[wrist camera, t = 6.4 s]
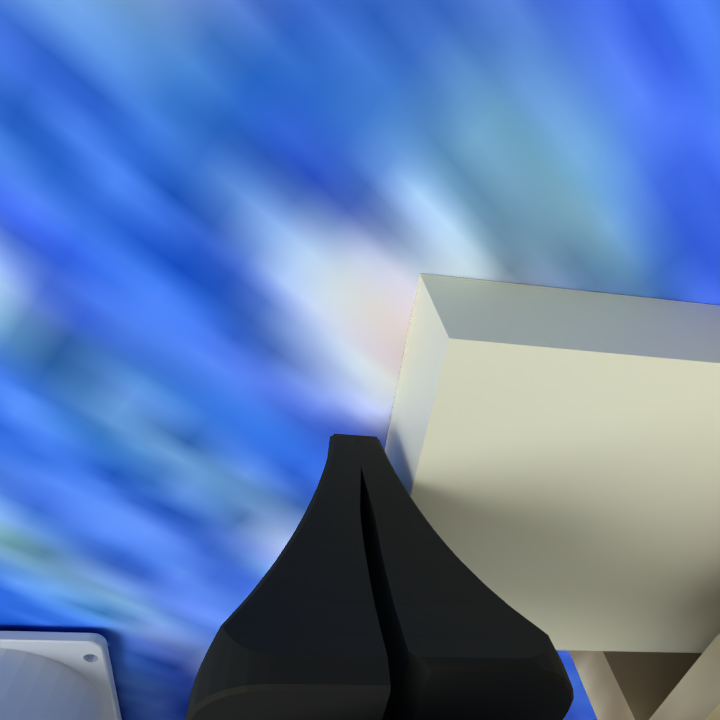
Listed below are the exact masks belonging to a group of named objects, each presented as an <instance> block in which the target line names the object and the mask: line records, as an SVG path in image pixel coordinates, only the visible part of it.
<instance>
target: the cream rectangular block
mask: <svg viewBox="0 0 720 720" xmlns="http://www.w3.org/2000/svg"><path fill="white" fill-rule="evenodd" d="M384 451H385V453H386V455H387V457H388V459H389V461H390V463H391V465H392V466H393V468H394V470H395V472H396V474H397V475H398V477H399V479H400V481H401V482H402V484H403V485H404V487H405V489H406V490H407V492H408V493H409V495H410V497H411V498H412V500H413V501H414V503H415V504H416V506H417V507H418V508H419V510H420V511H421V513H422V514H423V515H424V517H425V518H426V520H427V521H428V522H429V524H430V525H431V526H432V528H433V529H434V530H435V531H436V533H437V534H438V535H439V536H440V537H441V539H442V540H443V541H444V542H445V543H446V545H447V546H448V547H449V548H450V549H451V550H452V551H453V553H454V554H455V555H456V556H457V557H458V558H459V559H460V560H461V561H462V562H463V563H464V564H465V565H466V566H467V567H468V568H469V569H470V570H471V571H472V572H473V573H474V574H475V575H476V576H477V577H478V578H479V579H480V580H481V581H482V582H483V583H484V584H485V585H486V586H487V587H488V588H490V589H491V590H492V591H493V592H494V593H495V594H497V595H498V596H499V597H500V598H501V599H502V600H503V601H505V602H506V603H507V604H508V605H509V606H511V607H512V608H513V609H514V610H516V611H517V612H518V613H520V614H521V615H522V616H524V617H525V618H526V619H528V620H529V621H530V622H532V623H533V624H534V625H536V626H537V627H538V628H540V629H541V630H542V631H544V632H545V633H546V634H548V635H549V637H550V640H551V642H552V643H553V645H554V647H555V649H556V650H574V651H626V652H677V653H703V652H704V651H705V650H706V648H707V647H708V646H709V645H710V643H711V642H712V641H713V640H714V638H715V637H716V636H717V635H718V634H719V632H720V305H712V304H703V303H693V302H684V301H674V300H665V299H656V298H646V297H637V296H628V295H618V294H609V293H599V292H590V291H581V290H571V289H562V288H552V287H543V286H534V285H524V284H515V283H505V282H496V281H487V280H477V279H468V278H458V277H449V276H440V275H430V274H421V273H420V274H419V279H418V284H417V289H416V294H415V299H414V304H413V309H412V314H411V319H410V324H409V329H408V334H407V339H406V345H405V350H404V355H403V360H402V365H401V370H400V375H399V380H398V385H397V390H396V395H395V400H394V405H393V410H392V415H391V420H390V425H389V430H388V435H387V440H386V445H385V450H384Z"/></svg>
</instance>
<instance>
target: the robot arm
mask: <svg viewBox="0 0 720 720" xmlns="http://www.w3.org/2000/svg"><path fill="white" fill-rule="evenodd" d="M573 698H574V696H573V688H572V685H571V683H570V680H569V678H568V675H567V672H566V670H565V668H564V665H563V663H562V661H561V659H560V657H559V655H558V653H557V651H556V649H555V647H554V645H553V643H552V642H551V640H550V637H549V635H548V634H546V633H545V632H544V631H542V630H541V629H540V628H538V627H537V626H536V625H534V624H533V623H532V622H530V621H529V620H528V619H526V618H525V617H524V616H522V615H521V614H520V613H518V612H517V611H516V610H514V609H513V608H512V607H511V606H509V605H508V604H507V603H506V602H505V601H503V600H502V599H501V598H500V597H499V596H498V595H497V594H495V593H494V592H493V591H492V590H491V589H490V588H488V587H487V586H486V585H485V584H484V583H483V582H482V581H481V580H480V579H479V578H478V577H477V576H476V575H475V574H474V573H473V572H472V571H471V570H470V569H469V568H468V567H467V566H466V565H465V564H464V563H463V562H462V561H461V560H460V559H459V558H458V557H457V556H456V555H455V554H454V553H453V551H452V550H451V549H450V548H449V547H448V546H447V545H446V543H445V542H444V541H443V540H442V539H441V537H440V536H439V535H438V534H437V533H436V531H435V530H434V529H433V528H432V526H431V525H430V524H429V522H428V521H427V520H426V518H425V517H424V515H423V514H422V513H421V511H420V510H419V508H418V507H417V506H416V504H415V503H414V501H413V500H412V498H411V497H410V495H409V493H408V492H407V490H406V489H405V487H404V485H403V484H402V482H401V481H400V479H399V477H398V475H397V474H396V472H395V470H394V468H393V466H392V465H391V463H390V461H389V459H388V457H387V455H386V453H385V451H384V449H383V447H382V445H381V443H380V441H379V439H378V438H377V437H372V436H357V435H343V434H334V435H333V436H331V437H330V442H329V450H328V457H327V461H326V465H325V468H324V471H323V473H322V476H321V479H320V481H319V484H318V487H317V489H316V491H315V493H314V496H313V498H312V500H311V502H310V504H309V506H308V508H307V510H306V512H305V514H304V516H303V518H302V520H301V521H300V523H299V525H298V527H297V529H296V530H295V532H294V534H293V535H292V537H291V539H290V540H289V542H288V543H287V545H286V546H285V548H284V549H283V551H282V552H281V554H280V555H279V557H278V558H277V560H276V561H275V563H274V564H273V565H272V567H271V568H270V569H269V571H268V572H267V573H266V574H265V576H264V577H263V578H262V580H261V581H260V582H259V583H258V585H257V586H256V587H255V588H254V590H253V591H252V592H251V593H250V595H249V596H248V597H247V598H246V599H245V600H244V602H243V603H242V604H241V605H240V606H239V607H238V608H237V609H236V610H235V611H234V612H233V613H232V615H231V616H230V617H229V618H228V619H227V620H226V621H225V622H224V623H223V624H222V625H221V627H220V629H219V631H218V632H217V634H216V636H215V638H214V640H213V642H212V644H211V646H210V647H209V649H208V652H207V654H206V656H205V658H204V660H203V662H202V664H201V666H200V668H199V671H198V673H197V676H196V678H195V681H194V684H193V687H192V690H191V694H190V699H189V704H188V709H187V714H186V720H563V718H564V717H565V715H566V714H567V712H568V710H569V708H570V706H571V703H572V701H573ZM0 720H122V718H121V713H120V708H119V703H118V698H117V692H116V687H115V682H114V677H113V671H112V666H111V661H110V656H109V650H108V645H107V641H106V639H105V638H104V637H103V636H102V635H100V634H97V633H81V632H39V631H0Z"/></svg>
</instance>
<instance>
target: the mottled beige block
mask: <svg viewBox="0 0 720 720" xmlns="http://www.w3.org/2000/svg"><path fill="white" fill-rule="evenodd" d="M569 652H570V654H571V657H572V659H573V661H574V664H575V666H576V669H577V671H578V673H579V676H580V678H581V681H582V683H583V686H584V688H585V690H586V693H587V695H588V698H589V700H590V702H591V705H592V707H593V710H594V712H595V714H596V717H597V719H598V720H720V632H719V634H718V635H717V636H716V637H715V638H714V640H713V641H712V642H711V643H710V645H709V646H708V647H707V648H706V650H705V651H704V652H703V653H677V652H626V651H574V650H569Z"/></svg>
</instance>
